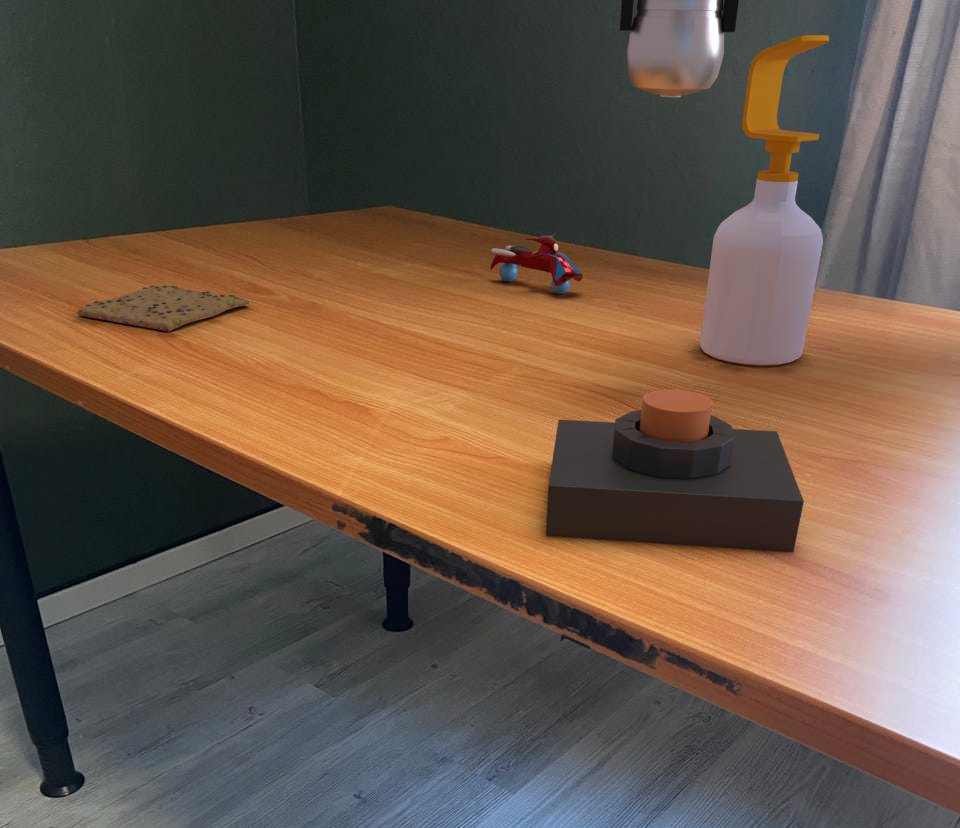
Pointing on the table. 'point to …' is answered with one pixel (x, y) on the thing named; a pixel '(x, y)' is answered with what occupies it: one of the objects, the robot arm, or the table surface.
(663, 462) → the button base
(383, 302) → the table surface
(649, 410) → the button
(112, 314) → the tan flat square slab
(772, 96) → the soap bottle
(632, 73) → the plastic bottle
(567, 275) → the hoverbike
